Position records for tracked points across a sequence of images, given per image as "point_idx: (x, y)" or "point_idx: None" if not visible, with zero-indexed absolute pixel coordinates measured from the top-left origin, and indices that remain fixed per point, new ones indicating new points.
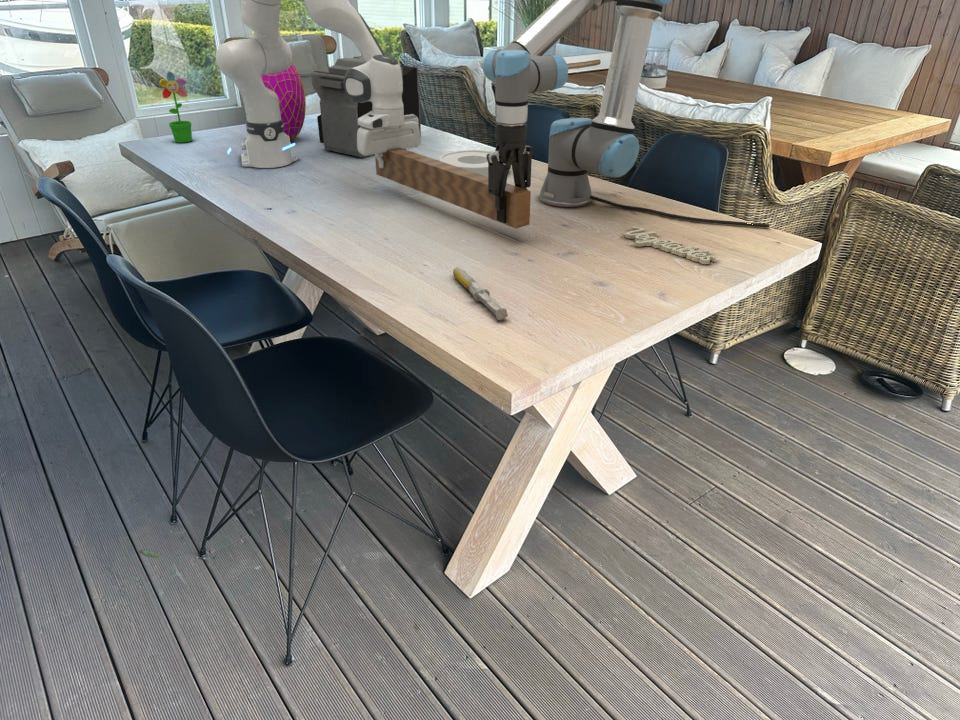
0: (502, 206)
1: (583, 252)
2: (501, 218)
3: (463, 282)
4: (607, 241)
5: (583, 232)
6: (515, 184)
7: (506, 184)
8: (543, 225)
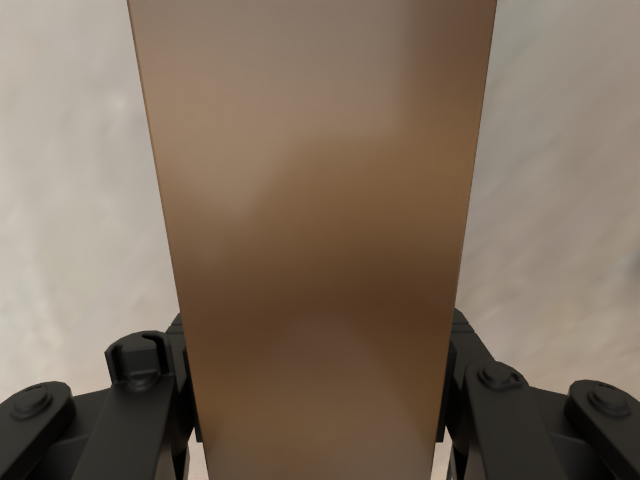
0: None
1: None
2: None
3: None
4: None
5: (613, 360)
6: (470, 424)
7: (398, 340)
8: (589, 200)
